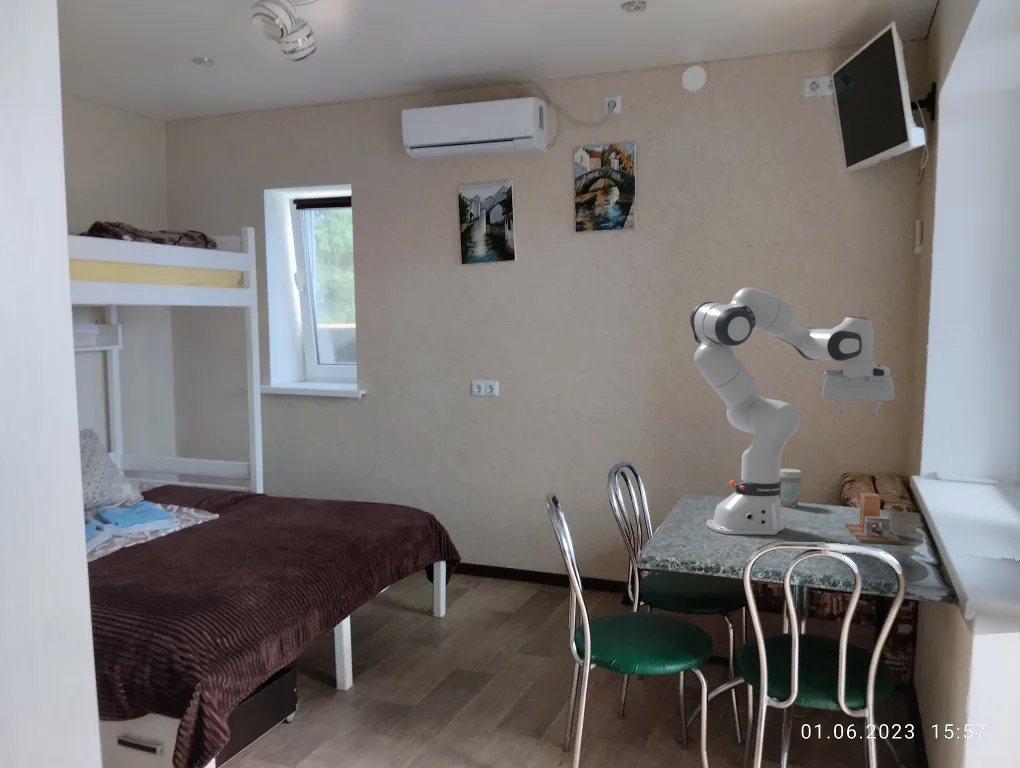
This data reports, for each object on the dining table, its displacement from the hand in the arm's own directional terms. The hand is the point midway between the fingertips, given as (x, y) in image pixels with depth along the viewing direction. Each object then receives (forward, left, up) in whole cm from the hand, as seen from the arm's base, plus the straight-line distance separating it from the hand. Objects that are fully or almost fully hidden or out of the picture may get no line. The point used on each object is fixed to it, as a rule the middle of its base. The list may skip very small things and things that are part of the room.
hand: (858, 414), depth 251 cm
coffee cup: (-8, +25, -34) cm, 43 cm away
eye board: (-3, -15, -34) cm, 37 cm away
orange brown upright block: (-3, -15, -32) cm, 36 cm away
